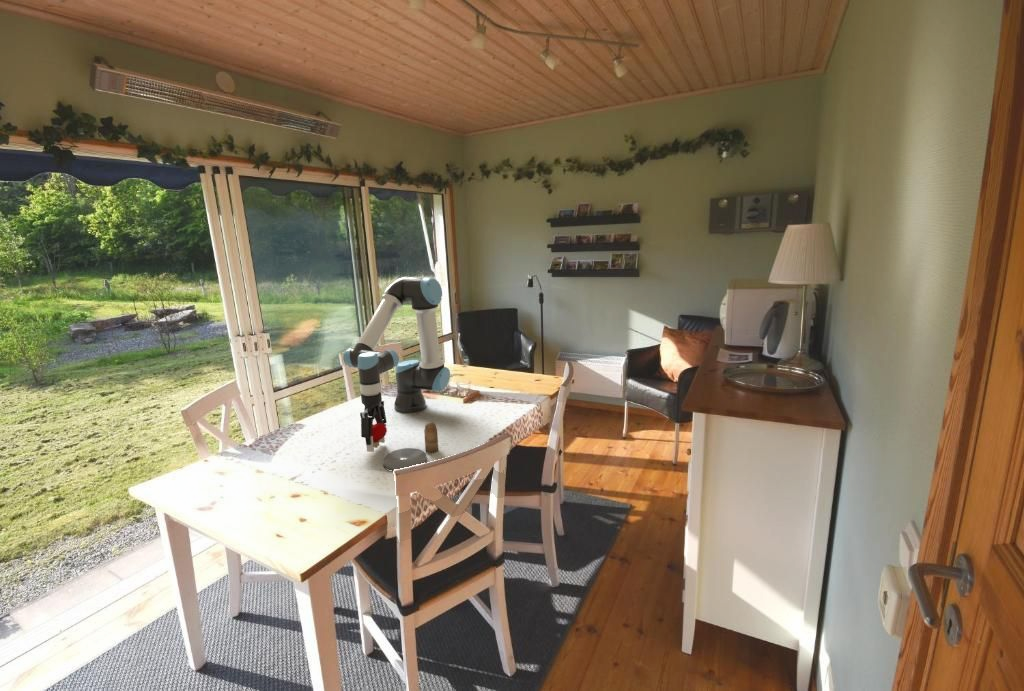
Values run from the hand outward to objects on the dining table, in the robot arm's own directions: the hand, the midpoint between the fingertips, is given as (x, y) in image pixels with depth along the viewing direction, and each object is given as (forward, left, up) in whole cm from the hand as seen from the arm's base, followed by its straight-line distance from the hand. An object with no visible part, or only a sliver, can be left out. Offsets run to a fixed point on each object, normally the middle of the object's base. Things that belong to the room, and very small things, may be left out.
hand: (376, 446), depth 189 cm
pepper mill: (-5, +22, -1) cm, 22 cm away
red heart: (0, 0, -1) cm, 1 cm away
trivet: (+6, +16, -1) cm, 17 cm away
